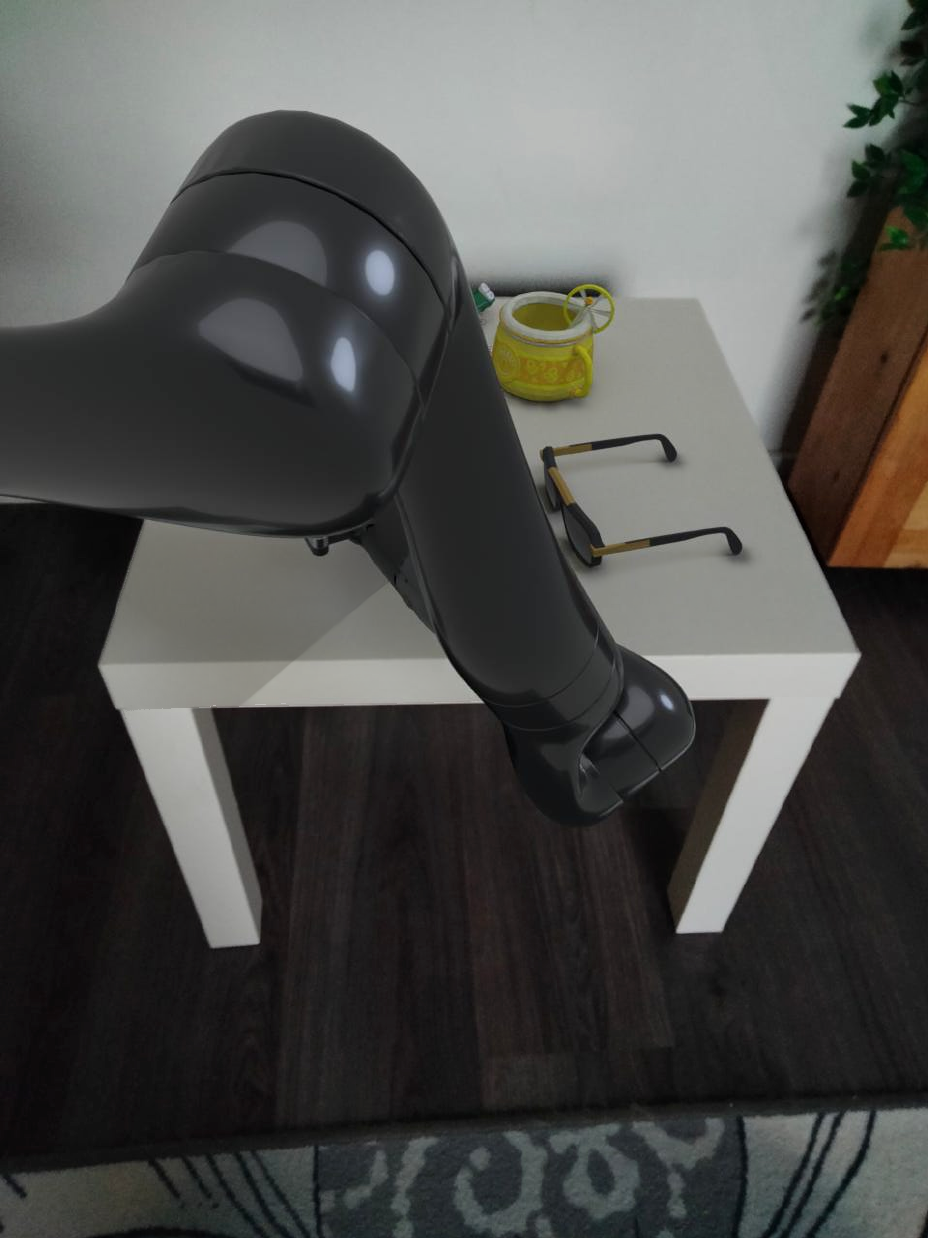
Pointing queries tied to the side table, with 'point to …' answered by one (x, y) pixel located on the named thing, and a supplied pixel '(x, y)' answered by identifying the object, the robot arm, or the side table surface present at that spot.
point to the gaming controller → (483, 297)
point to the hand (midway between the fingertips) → (335, 438)
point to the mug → (548, 344)
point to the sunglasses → (584, 530)
